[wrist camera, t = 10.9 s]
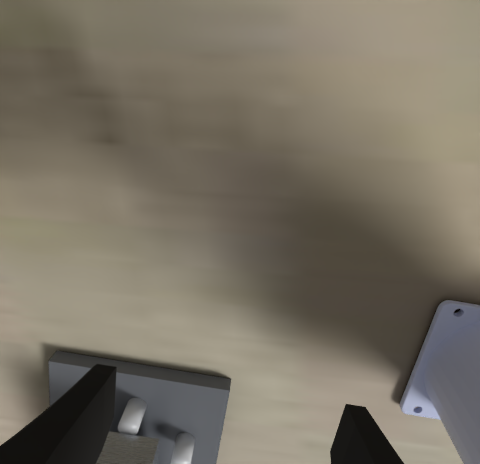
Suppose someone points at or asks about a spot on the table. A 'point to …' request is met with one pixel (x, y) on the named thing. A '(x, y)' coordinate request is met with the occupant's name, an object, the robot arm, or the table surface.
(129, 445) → the block
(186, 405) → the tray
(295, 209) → the table surface
